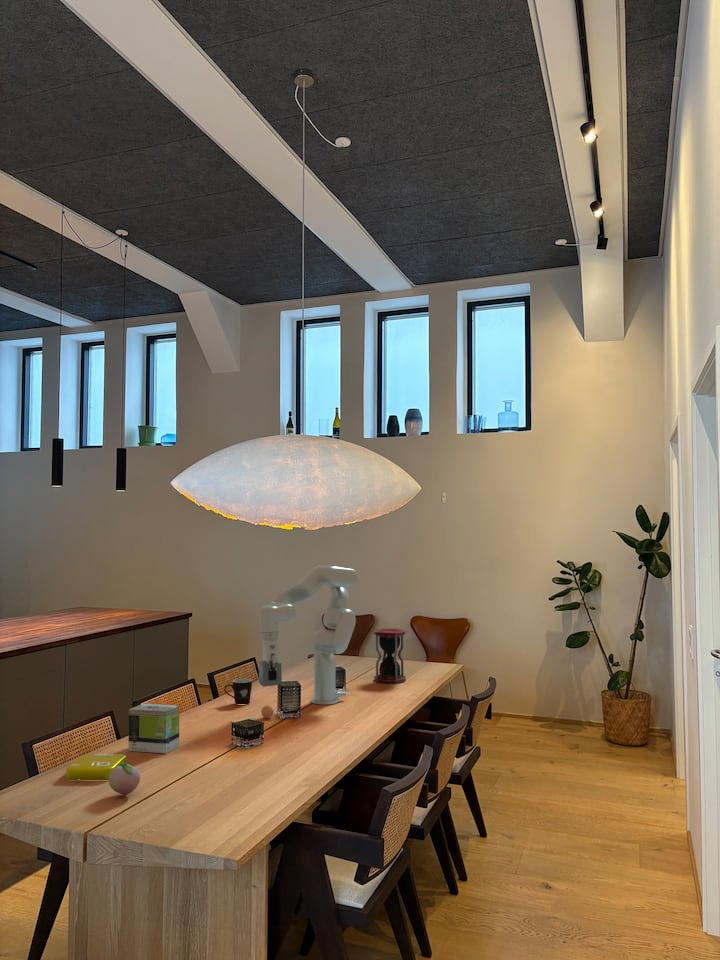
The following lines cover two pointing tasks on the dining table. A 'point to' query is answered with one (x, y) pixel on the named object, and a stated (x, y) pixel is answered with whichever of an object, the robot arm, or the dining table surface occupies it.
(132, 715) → the tea box
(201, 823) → the dining table surface
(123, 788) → the decorative fruit
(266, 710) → the ball
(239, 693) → the coffee mug
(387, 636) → the hourglass
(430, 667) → the dining table surface
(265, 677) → the grey block
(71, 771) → the element tile
